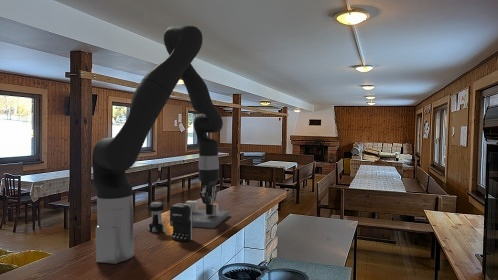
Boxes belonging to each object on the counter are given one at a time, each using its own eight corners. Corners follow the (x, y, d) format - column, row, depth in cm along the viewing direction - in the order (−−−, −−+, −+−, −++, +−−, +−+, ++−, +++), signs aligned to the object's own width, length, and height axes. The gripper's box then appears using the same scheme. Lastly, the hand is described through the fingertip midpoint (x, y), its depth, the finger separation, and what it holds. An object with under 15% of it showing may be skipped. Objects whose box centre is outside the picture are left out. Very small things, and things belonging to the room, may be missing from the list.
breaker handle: (216, 215, 134) (216, 205, 134) (206, 215, 135) (206, 204, 135) (218, 214, 137) (218, 203, 136) (208, 213, 138) (208, 203, 137)
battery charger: (168, 240, 113) (167, 204, 113) (175, 237, 117) (175, 202, 116) (186, 243, 110) (185, 206, 110) (193, 239, 114) (193, 204, 113)
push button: (142, 232, 123) (141, 203, 122) (153, 228, 128) (152, 200, 127) (157, 234, 120) (156, 205, 119) (167, 230, 124) (167, 202, 124)
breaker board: (213, 228, 127) (213, 210, 127) (169, 225, 131) (169, 207, 131) (228, 215, 144) (228, 199, 144) (189, 213, 148) (189, 198, 148)
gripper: (212, 170, 124) (212, 219, 125) (224, 165, 137) (224, 210, 138) (192, 169, 126) (192, 218, 127) (205, 165, 139) (206, 209, 140)
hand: (209, 214), depth 132 cm, fingers closed
